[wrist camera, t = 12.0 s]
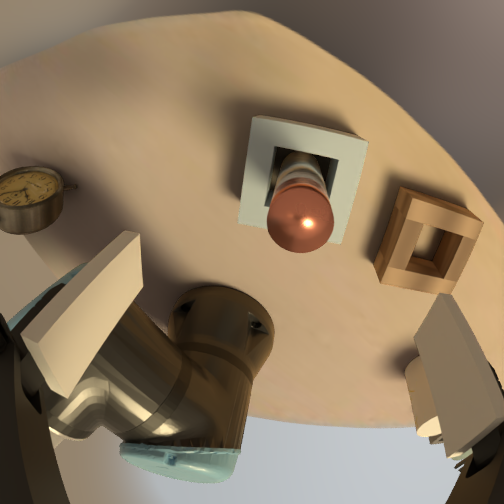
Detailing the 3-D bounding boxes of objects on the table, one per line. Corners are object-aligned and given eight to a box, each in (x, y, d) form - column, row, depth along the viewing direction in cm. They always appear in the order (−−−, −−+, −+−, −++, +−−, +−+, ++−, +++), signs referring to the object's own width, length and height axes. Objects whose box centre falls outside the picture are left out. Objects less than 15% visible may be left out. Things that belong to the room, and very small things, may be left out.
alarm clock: (84, 177, 33) (-7, 231, 19) (81, 212, 36) (0, 273, 22) (35, 157, 33) (-49, 197, 19) (33, 189, 35) (-43, 235, 21)
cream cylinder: (395, 371, 42) (407, 432, 31) (433, 344, 38) (453, 405, 27) (419, 385, 43) (431, 439, 33) (453, 360, 39) (472, 415, 29)
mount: (373, 264, 33) (380, 283, 30) (400, 186, 28) (412, 198, 24) (438, 278, 32) (449, 296, 29) (467, 209, 27) (483, 222, 24)
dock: (246, 205, 32) (237, 223, 28) (260, 114, 27) (252, 116, 23) (335, 223, 31) (340, 244, 27) (357, 135, 26) (368, 142, 22)
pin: (278, 184, 30) (261, 245, 18) (284, 147, 28) (272, 184, 16) (315, 191, 30) (324, 258, 18) (323, 155, 28) (341, 198, 16)
